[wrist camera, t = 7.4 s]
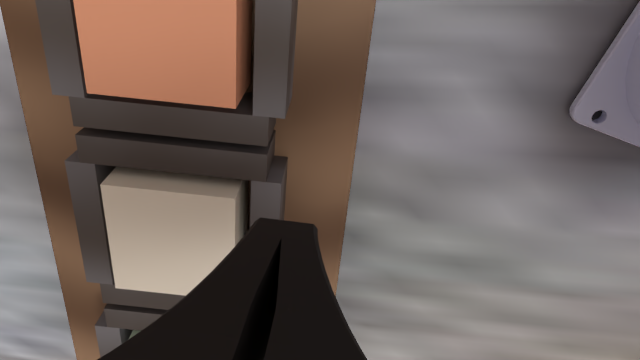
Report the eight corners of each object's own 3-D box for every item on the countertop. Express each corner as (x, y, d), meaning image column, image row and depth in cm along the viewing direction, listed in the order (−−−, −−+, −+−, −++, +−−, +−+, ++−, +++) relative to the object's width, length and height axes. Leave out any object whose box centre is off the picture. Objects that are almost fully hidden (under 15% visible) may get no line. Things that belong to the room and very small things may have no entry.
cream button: (129, 152, 18) (100, 184, 16) (248, 164, 18) (235, 198, 16) (139, 248, 20) (115, 288, 18) (246, 260, 20) (234, 300, 18)
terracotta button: (104, -78, 15) (62, -75, 12) (253, -63, 14) (236, -57, 12) (120, 69, 17) (86, 93, 15) (250, 82, 17) (236, 108, 15)
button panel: (3, -176, 15) (-100, -200, 12) (390, -137, 15) (401, -149, 12) (101, 361, 27) (64, 429, 24) (320, 385, 27) (316, 456, 23)
